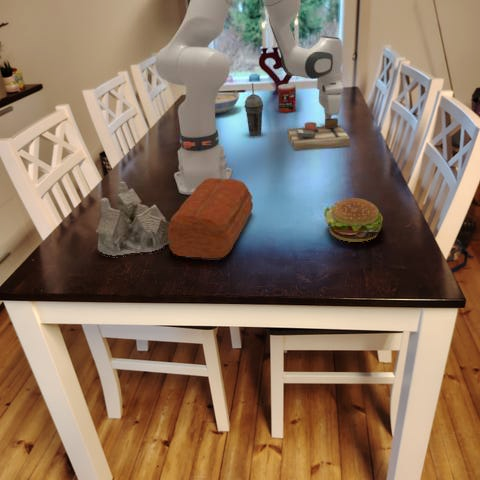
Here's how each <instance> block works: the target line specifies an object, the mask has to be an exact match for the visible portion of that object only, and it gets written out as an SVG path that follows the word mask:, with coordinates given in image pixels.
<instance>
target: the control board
mask: <svg viewBox="0 0 480 480" xmlns="http://www.w3.org/2000/svg"><path fill="white" fill-rule="evenodd" d="M286 130H287V139H288V142H289V143H290V146H291V147H292V150H293V151H294V152H295V151H296V152H297V151H308V150H309V151H310V150H319V149H320V150H321V149H333V148H345V147H351V137H350V136H349V135H348V134H347V132H346V131H345V130H344V129H343V127H342V126H341V125H340V124H338V128H325V125H323V126H321V125H320V126H316V131H315V132H314V133H315V137H301V136H298V135H297V133H296V132H297V130H305V127H298V128H287V129H286Z"/></svg>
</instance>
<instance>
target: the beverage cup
mask: <svg viewBox="0 0 480 480" xmlns="http://www.w3.org/2000/svg"><path fill="white" fill-rule="evenodd" d="M251 89H252V92H251V93H252V94H250V95H248V96H247V97H246V99H245V101H244V109H245V110H244V111H245V112H246V119H247V125H248V126H247V127H248V132H249V136H250V137H252V136H253V138H254V137H255V136H257V137H261V135H262V122H263V121H262V119H263V109H264V101H263V100H262V97H260V96H259V95H258V94H255V91H254V83H253V82H252V83H251Z"/></svg>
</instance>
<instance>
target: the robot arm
mask: <svg viewBox="0 0 480 480" xmlns="http://www.w3.org/2000/svg"><path fill="white" fill-rule="evenodd" d="M261 1H262V3H263V5H264V7H265V9H266V11H267V15H268V21H269V26H270V29H271V32H272V34H273V36H274V40H275V42H276V45H277V47H278V51H279V53H280V61H281V67H282V70H283V71H284V73H285V74H286V75H288V76H290V77H291V76H292V77H300V78H304V79H305V78H306V79H311V80H315V79H317V80H316V89H317V90H318V104H320V105H321V107H322V108H323V111H324V120H325V119H331V118H332V116H338V115H339V114H340V111H341V104H342V94H343V93H344V85H343V83H342V82H343V80H342V79H343V78H342V77H343V74H342V73H343V72H342V65H343V60H344V59H343V56H344V55H343V54H344V52H343V51H344V48H343V47H344V46H343V42H342V40H341V39H340V37H336V36H329V35H325V36H321V37H320V38H319V40H318V41H317V42H316V43H315V44H314V45H313V46H312V47H310V48H306V47H305V48H304V47H302V46H300V45H299V44H297V42H296V41H295V38H294V35H293V31H292V29H291V25H290V22H292V21H293V20H295V18H296V17H297V16H298V14H299V12H300V10H301V5H302V1H301V0H261ZM231 2H232V0H189V3H188V6H187V10H186V13H185V16H184V17H183V20H182V23H181V24H180V26H179V28H178V30H176V33H175V34H174V36H173V37H172V39H171V40H170V41H169V42H168V43H167V45H165V46H164V47H163V48H161V49H160V50H159V51H158V53H157V55H156V56H155V63H154V65H155V70H156V73H157V75H158V76H159V77H160V78H161V79H163V80H165V81H166V82H169V83H171V84H172V85H177V86H185V90H186V92H185V98H184V101H182V103H180V104H179V106H178V109H177V115H178V121H179V128H180V129H179V130H180V131H179V132H180V133H179V142H180V148H179V149H178V150H177V156H178V157H177V158H178V166H177V169H178V171H177V172H175V173H174V175H173V176H174V177H173V178H174V179H175V182H176V186H177V189H178V192H179V193H180V194H183V195H191V194H192V193H193V192H194V190H195V189H196V188H197V186H199V185H200V184H201V183H202V182H203V181H204V180H206V179H209V178H216V179H222V180H225V179H231V176H232V173H233V169H232V168H231V167H227V162H226V154H225V148H224V147H223V146H222V145H221V144H220V141H219V139H220V138H219V136H220V135H219V133H218V132H219V131H218V129H217V125H216V123H217V122H216V114H215V101H216V97H217V93H218V91H219V90H221V88H222V86H223V85H224V84H226V82H227V80H228V78H229V74H230V64H229V60H228V57H227V56H226V55H225V54H224V53H223V52H221V51H220V50H216V49H214V48H212V47H211V48H210V47H208V46H209V45H210V44H211V43H212V42H213V41H214V40H216V39H217V38H219V36H220V35H221V34H222V33H223V30H224V27H225V23H226V20H227V17H228V14H229V11H230V7H231Z"/></svg>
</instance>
